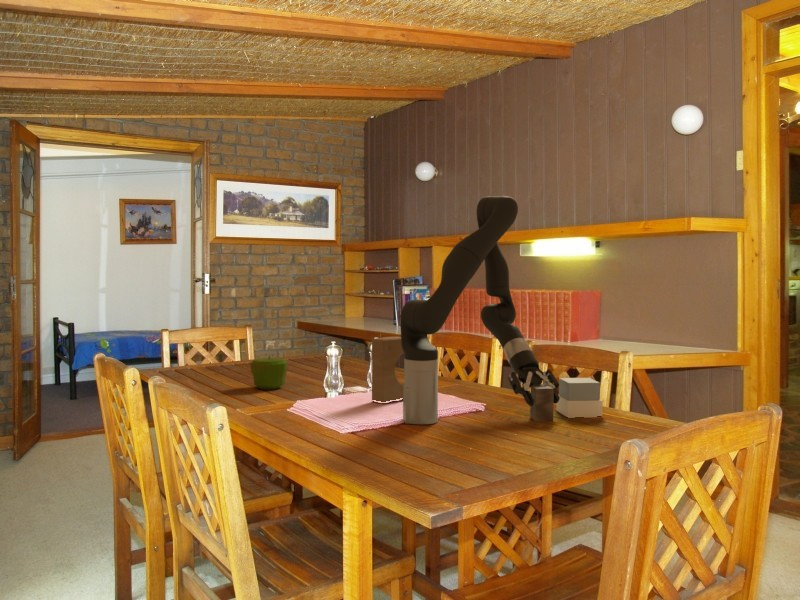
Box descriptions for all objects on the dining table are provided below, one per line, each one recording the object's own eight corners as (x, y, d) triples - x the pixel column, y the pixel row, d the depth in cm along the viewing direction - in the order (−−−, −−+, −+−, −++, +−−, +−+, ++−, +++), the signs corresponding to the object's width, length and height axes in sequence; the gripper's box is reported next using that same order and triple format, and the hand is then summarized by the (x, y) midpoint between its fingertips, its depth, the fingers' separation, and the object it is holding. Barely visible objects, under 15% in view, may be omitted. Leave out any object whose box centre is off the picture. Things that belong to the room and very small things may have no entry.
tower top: (568, 400, 191) (568, 383, 191) (558, 394, 200) (559, 378, 200) (599, 400, 191) (599, 382, 191) (588, 394, 200) (588, 377, 200)
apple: (292, 385, 241) (292, 354, 241) (278, 391, 230) (278, 358, 229) (260, 384, 244) (260, 353, 244) (245, 390, 232) (244, 357, 232)
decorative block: (395, 397, 220) (395, 336, 219) (408, 399, 216) (408, 337, 215) (370, 401, 212) (370, 338, 211) (383, 404, 208) (383, 339, 207)
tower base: (567, 418, 190) (568, 401, 190) (556, 411, 200) (556, 394, 200) (602, 418, 191) (602, 400, 191) (588, 410, 201) (589, 394, 201)
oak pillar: (535, 421, 186) (535, 388, 185) (530, 417, 191) (530, 385, 190) (553, 420, 186) (553, 388, 186) (547, 417, 191) (547, 385, 191)
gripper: (505, 350, 191) (529, 397, 181) (546, 347, 197) (571, 393, 188) (494, 366, 196) (517, 413, 186) (534, 363, 202) (559, 408, 193)
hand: (544, 403), depth 187 cm, fingers open, 8 cm apart
